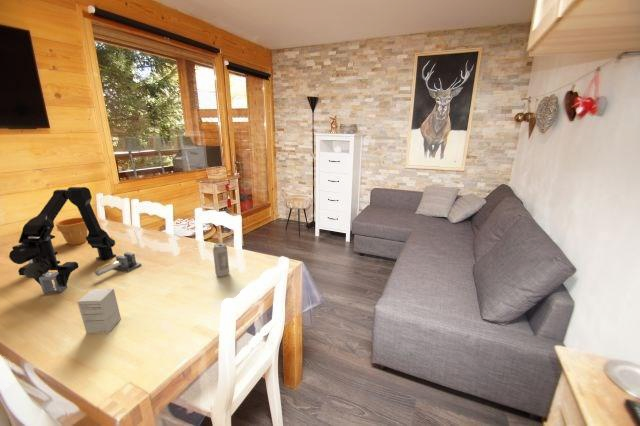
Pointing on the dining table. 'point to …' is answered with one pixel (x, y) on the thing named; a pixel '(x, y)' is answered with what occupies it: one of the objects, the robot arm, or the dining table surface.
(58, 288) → the hollow rectangular metal block
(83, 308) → the supplement box
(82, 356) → the dining table surface
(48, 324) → the dining table surface
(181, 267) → the dining table surface
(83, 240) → the flower pot
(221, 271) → the energy drink can
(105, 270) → the shaft stand
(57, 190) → the robot arm
